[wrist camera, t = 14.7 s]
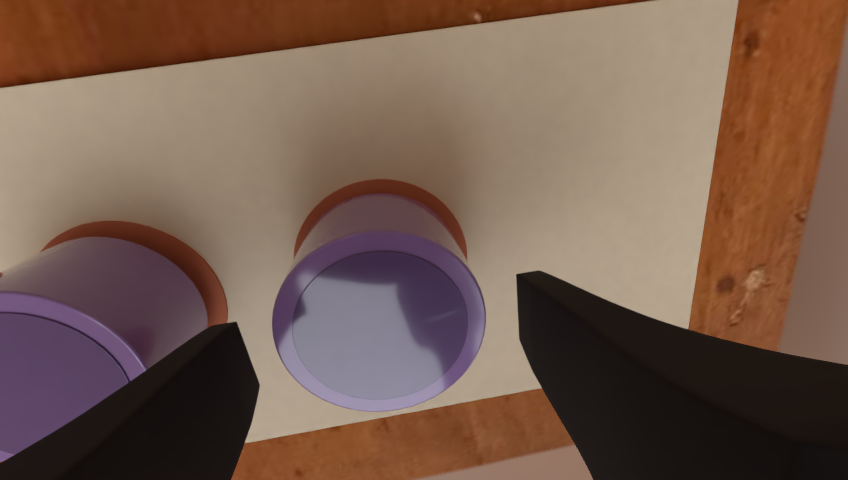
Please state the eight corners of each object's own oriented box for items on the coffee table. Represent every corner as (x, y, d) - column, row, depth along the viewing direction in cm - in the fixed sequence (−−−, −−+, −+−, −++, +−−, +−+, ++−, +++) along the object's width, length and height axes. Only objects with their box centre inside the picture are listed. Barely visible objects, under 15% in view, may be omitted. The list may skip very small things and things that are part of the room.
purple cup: (398, 352, 15) (404, 440, 11) (270, 282, 13) (229, 358, 10) (488, 246, 14) (529, 306, 10) (360, 154, 12) (352, 184, 8)
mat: (122, 458, 16) (114, 470, 16) (-92, 101, 11) (-113, 102, 10) (676, 356, 17) (685, 363, 17) (729, -9, 12) (743, -13, 12)
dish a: (172, 391, 15) (101, 498, 11) (11, 324, 13) (-138, 421, 9) (245, 285, 13) (192, 363, 10) (77, 195, 12) (-65, 247, 8)
